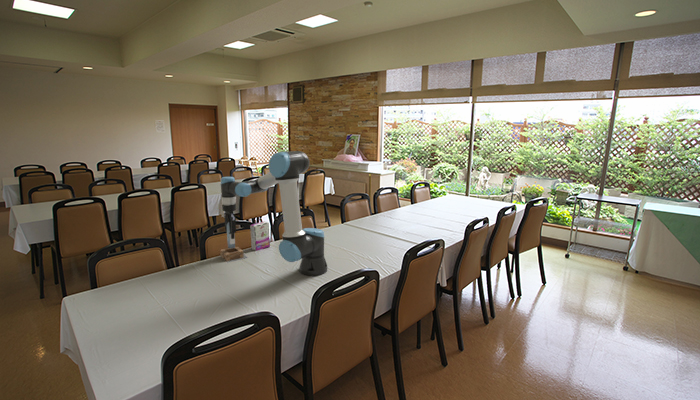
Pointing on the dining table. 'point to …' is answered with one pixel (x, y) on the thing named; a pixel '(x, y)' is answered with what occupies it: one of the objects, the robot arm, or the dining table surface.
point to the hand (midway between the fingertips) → (231, 242)
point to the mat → (237, 259)
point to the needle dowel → (229, 237)
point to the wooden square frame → (232, 253)
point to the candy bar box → (260, 236)
